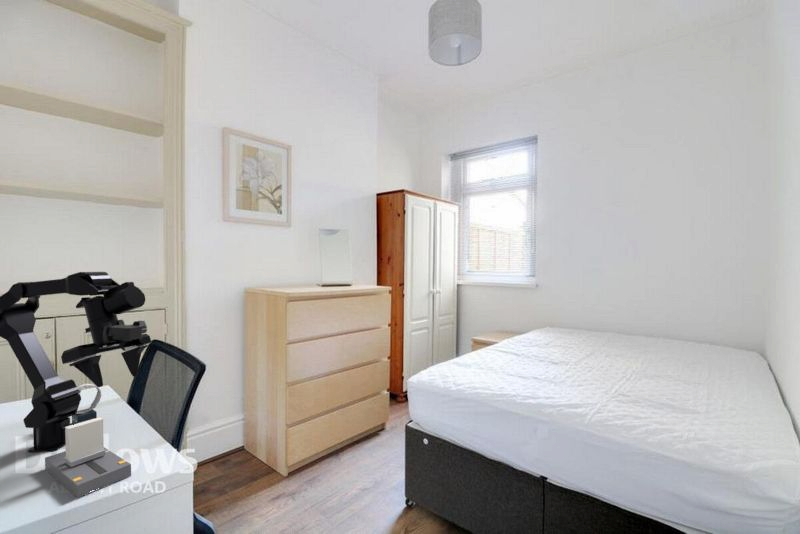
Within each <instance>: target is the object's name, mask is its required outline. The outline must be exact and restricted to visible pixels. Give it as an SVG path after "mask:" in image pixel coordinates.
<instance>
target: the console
mask: <svg viewBox="0 0 800 534" xmlns="http://www.w3.org/2000/svg"><path fill="white" fill-rule="evenodd" d="M104 450H105V453H106V455H103V456H101V457H98V458H95V459H92V460H89V461H87V462H84V463H81V464H78V465H76V466H73V467H70V466H69V465H68V464H66V463H65V462H64V457H66V450H65V451H61V452H58V453H55V454H52V455H50V456H49V455H48V456H46V457H44V469H45V470H46V471H47V472H48V473H49V474H50V475H52V477H53V478H54V479H56V481H58V482H59V483H60V484H61V485H62V486H64V488H65V489H67V491H69V492H70V493H71V494H72V495H74V497H75V498H77V499H79V498H81V496H82V497H84V496H86V495H85V494H87V493H89V492H90V491H92V490H96V489H98V488H101V487H103V488H105V487H104V486H106V487H108V486H110V485H113V484H115V483H117V482H116V481H118V482H120V481H122V480H124V479H127V478H129V477H132V464H131V463H130V462H129V461H126V460H125V459H124V458H122V457H120V456H119V455H117V454H115V453H114V452H113V451H112V450H109V449H108V448H106V447H105V446H104ZM119 480H120V481H119ZM114 482H115V483H114ZM112 483H113V484H112ZM109 484H110V485H109ZM107 485H108V486H107ZM101 489H102V488H101ZM96 491H97V490H96ZM89 494H90V493H89ZM83 495H84V496H83ZM87 495H88V494H87Z"/></svg>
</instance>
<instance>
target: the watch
mask: <svg viewBox="0 0 800 534" xmlns="http://www.w3.org/2000/svg"><path fill="white" fill-rule="evenodd" d="M76 386H77V388H78V389H79V390H80V391H81V392H80V393H79V394H80V395H81V393H82V391H83V389H84V388H86V387H94V388H95V389H96V390H97V392H96V395H95V397H94V399H93V401H92V403H91V404H90V406H89V407H88V408H85V409H80V410H77V413H76V415H73V416H71V424H72V423H73V424H77V423H81V422H84V421H88V420H91V419H95V418H98V417H97V415H98V413H97V410H95V408H96V407H97V406H98V405H99V403H100V401H101V400H102V399H101V398H102V396H103V395H102V391H101V389H100V387H97V386H96V385H95V384H94V383H83V384H80V385H76ZM73 424H72V425H73Z"/></svg>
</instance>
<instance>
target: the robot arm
mask: <svg viewBox="0 0 800 534" xmlns="http://www.w3.org/2000/svg"><path fill="white" fill-rule="evenodd" d="M61 294H67V295H70V296H71V295H72V296H87V297H81V298H80V300H79V302H77V304H76V305H75V308H76V309H84V312H85V316H86V319H87V323H88V327H85V328H84V330H85V333H87V334H88V333H90V336H91V339H92V342H91V343H85V344H80V345H78V346H74V347H72V348H68V349H65V350H64V351H63V352H62V353H61V356H60V357H61V362H62V364H63V365H65V364H69V367H73V368H75V369H77V370H78V371H79V372H81V373H82V374H83V375H84V376H86V377H87V378H88V380H90V382H92V384H93V385H95V386H97V387H98V388H101V387H103V386H104V383H103V380H104V379H103V376H102V372H101V367H100V360H101V357H102V353H106V352H111V351H116V350H120V349H121V350H122V351H123V352H121V354H120V355H121V356H122V358H123V361H124V362H125V365H126V367H127V368H128V371H129V373H130V374H131V376H132V377H133V378H134V377H137V376H138V374H139V367H140V360H141V356H142V353H143V351H144V350H145V349H146V348H148V347H149V344H152V339H151V336H150V335H149V334H147V331H148V327H147V323H146V322H145V320H136V321H134V322H133V323H132V324H125V321H124V320H123V319H118V315H122V314H124V313H127V312H130V311H134V310H136V309H138V308H141V307H143V306H144V305H145V303H146V295H145V293H144V292H143V291H142V290H141V289H140V287H137V286H136V285H135V284H134V281H125V282H123V283H121V284H120V283H118V282H117V281H116V280H114V279H113V278H112V277H111V276H110V275H109V273H108V272H106V271H80V272H78V271H77V272H76V273H72V274H68V275H66V277H63V278H59V279H58V278H57V279H49V280H39V281H22V282H21V281H20V282H16V283H14V284H12V285H11V286H10V288H9V289H8V291H6V292H5V293H3V294H2V295H0V338H2V339H4V340H6V341H7V343H8V344H9V346H10V348H11V350H12V352H13V354H14V355H15V357H16V359H17V361H18V362H19V364H20V366H21V368H22V370H23V371H24V373H25V375H26V377H27V378H28V381H29V382H30V384H31V385H32V387H33V392H32V393H33V394H32V397H31V405H32V410H30V412H28V414H27V415H26V416H25V417H24V418H23V424H24V427H25V428H26V429H33V430H32V431H33V432H32V435H33V446H31V447H30V448H29V449H27V452H28V453H31V452H34V451H35V452H46V451H56V450H58V449H59V450H60V448H62V447H65V446H66V434H65V427H67V426H70V425H73V424H72V423H71V417H72V416H73V415H76V413H77V411H79V410H78V409H79V407H80V406H79V405H80V404H81V401H82V396H81V394H79V393H80V392H81V393H82V390H81V391H80V390H79V389H78V388H77V386H78V385H76V382H75V380H74V379H67V380H64V379H63V378H60V376H59V374H58V373H57V371H56V369H55V367H54V365H53V364H52V362H51V359H49V357H48V355H47V353H46V351H45V349H44V348H43V346H42V344H41V343H40V340H39V339H38V337H37V335H36V333H35V331H34V329H35V326H36V322H37V319H36V317H35V313H36V312H37V311H38V309H39V308H40V298H41V297H42V296H50V295H51V296H52V295H53V296H54V295H61ZM88 296H89V297H88ZM91 296H93V297H91ZM21 299H27V300H26V301H25V302H19V301H21ZM18 302H19V303H18ZM97 354H99V355H97Z"/></svg>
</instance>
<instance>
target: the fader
mask: <svg viewBox="0 0 800 534" xmlns="http://www.w3.org/2000/svg"><path fill="white" fill-rule="evenodd" d="M65 434H66V444H65V451H66V457H64V462H65V463H66V464H68V465H69V466H70V467H73V466H76V465H78V464H81V463H84V462H87V461H89V460H92V459H95V458H98V457H101V456H103V455H106V453H105V450H104V447H105V446H104V444H105V443H104V441H105V440H104V419H103V418H102V417H100V416H99V417H97V418H95V419H91V420H88V421H84V422H81V423H77V424H74V425H73V424H72V425H70V426H67V427H65Z"/></svg>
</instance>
